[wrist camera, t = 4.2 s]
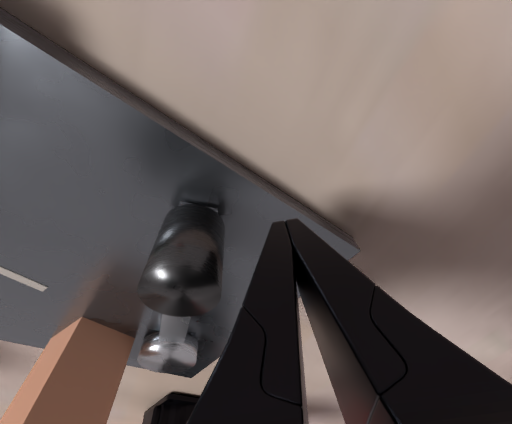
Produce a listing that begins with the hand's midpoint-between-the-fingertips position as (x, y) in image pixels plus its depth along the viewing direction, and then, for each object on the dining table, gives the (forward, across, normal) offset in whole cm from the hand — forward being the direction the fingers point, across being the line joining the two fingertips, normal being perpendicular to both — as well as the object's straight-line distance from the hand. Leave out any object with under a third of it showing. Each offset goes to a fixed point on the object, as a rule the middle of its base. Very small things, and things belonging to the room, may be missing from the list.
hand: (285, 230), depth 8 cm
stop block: (+2, +13, +8) cm, 15 cm away
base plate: (+3, +8, +4) cm, 10 cm away
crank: (+2, +6, +6) cm, 8 cm away
